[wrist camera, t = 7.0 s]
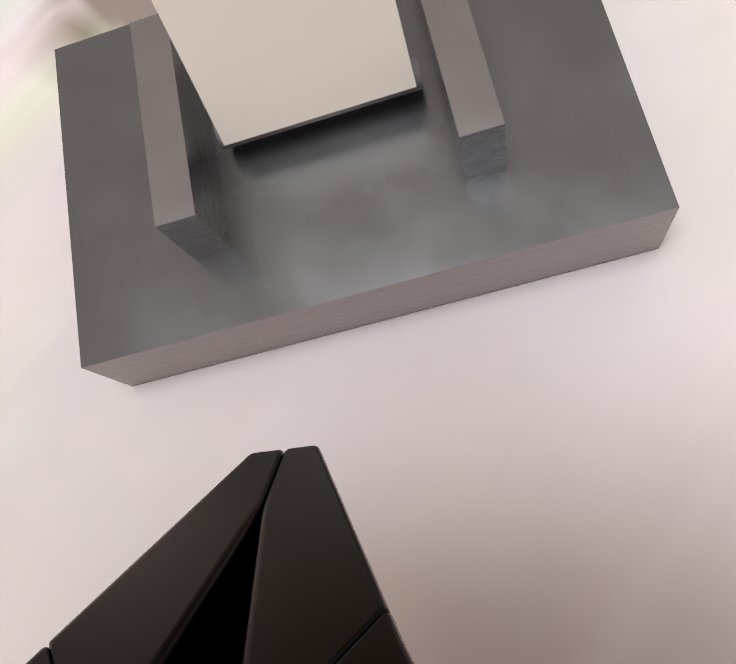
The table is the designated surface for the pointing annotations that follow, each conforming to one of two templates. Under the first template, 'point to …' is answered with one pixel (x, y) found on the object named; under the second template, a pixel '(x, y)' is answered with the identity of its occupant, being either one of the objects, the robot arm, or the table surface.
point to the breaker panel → (348, 187)
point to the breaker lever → (288, 60)
